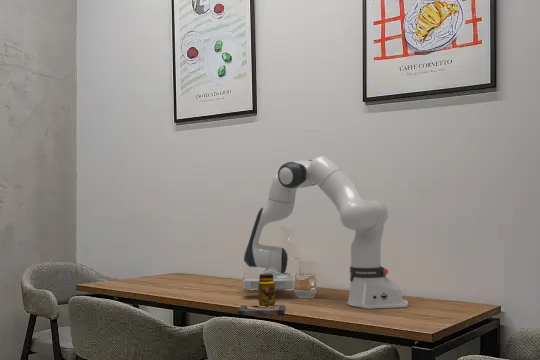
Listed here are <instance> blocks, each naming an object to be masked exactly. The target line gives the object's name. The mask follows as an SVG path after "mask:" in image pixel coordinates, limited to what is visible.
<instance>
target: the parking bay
mask: <svg viewBox="0 0 540 360" xmlns="http://www.w3.org/2000/svg"><path fill="white" fill-rule="evenodd" d="M284 311H286V305H283V304H282V305H281V304H279V305H278V309H248V305H243V304H242V305H240V307H239V309H238V310H237V316H284V315H285V312H284Z"/></svg>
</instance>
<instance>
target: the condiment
mask: <svg viewBox="0 0 540 360" xmlns="http://www.w3.org/2000/svg"><path fill="white" fill-rule="evenodd" d="M258 278H259V289H258V304H259V305H260V306H265V307H269V306H275V305H276V297H275V296H276V291H275V283H274V281H273V280H274V279H273V274H262V273H260V274H259V277H258ZM275 307H276V306H275Z"/></svg>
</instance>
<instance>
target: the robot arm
mask: <svg viewBox="0 0 540 360" xmlns="http://www.w3.org/2000/svg"><path fill="white" fill-rule="evenodd" d="M315 185H316V186H318V187H319V188H320V190H321V191H322V192H323V193H324V194H325V195H326V196H327V197H328V199H330V201H331V202H332V203H333V205H334V206H335V207H336V210H337V211H338V212H339V213H338V214H340V221H341V223H342V225H343V226H344V227H345V228H346V229H349V230H352V231H355V234H354V238H353V240H352V243H351V244H350V266H349V281H350V287H349V294H348V300H347V305H349V306H351V307H357V308H362V309H370V310H372V309H391V308H392V309H394V308H395V309H397V308H407V307H409V301H408V300H406V299H405V298H403V293H402V290H401V288H400V286H399V285H397V284H396V283H395V282H393V280H391V279H390V278H388V277H387V275H388V274H389V270H388V269H387V268H386V267H383V266H382V265H381V264H382V263H381V259H382V258H381V257H382V256H381V248H382V247H381V246H382V238H383V234H384V233H383V232H384V228H385V227H384V226H385V224H386V222H387V220H388V218H389V213H388V212H389V210H388V209H387V206H385V204H383V203H382V202H380V201H378V200H374V199H373V200H372V199H369V200H367V199H364V198H363V197H362V195H361V194H360V193H359V192H358V189H357V185H356V183H355V182H354V181H353V180H352V179H351V178H350V177H349V176H348V175H347V174H346V173H345V171H343V170H342V168H340V167H339V166H338V165H337V164H336V163H335V162H334V161H332V160H331V159H330V158H328V157H327V156H325V155H320V156H316V157H315V158H313V160H312V159H308V160H302V159H300V160H293V161H287V162H285V163H283V164H282V165H281V166H280V167H279V168H278V171H277V173H276V174H275V175H274V176H273V178H272V181H271V184H270V187H269V193H268V200H267V202H266V204H265V205H264V207H261V208H260V209H259V211H258V212H257V215H256V218H255V221H254V223H253V228H252V230H251V234H250V237H249V240H248V244H247V246H246V247H245V249H244V252H243V261H244V263H245V264H246V265H247V266H248V267H249V268H263V269H264V271H262V273H261V274H273V279H274V280H273V281H274V283H275V292H279V291H283V290H293V289H294V278H293V276H292V275H291V273H290V272H286V270H287V267H288V253H287V251H286V249H285V248H284V247H281V246H274V245H266V244H260V242H259V241H260V238H261V235H262V232H263V228H264V227H265V226H266V225H268V224H270V223H273V222H274V223H275V222H277V221H278V222H279V221H282V220H285V219H286V218H288V217H290V216H291V215H292V213H293V211H294V208H295V202H296V195H297V191H298V189H299V188H300V189H301V188H308V187H312V186H315ZM259 278H260V277H246V278H245V279H243V281H242V288H243V289H245V290H259Z"/></svg>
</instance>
